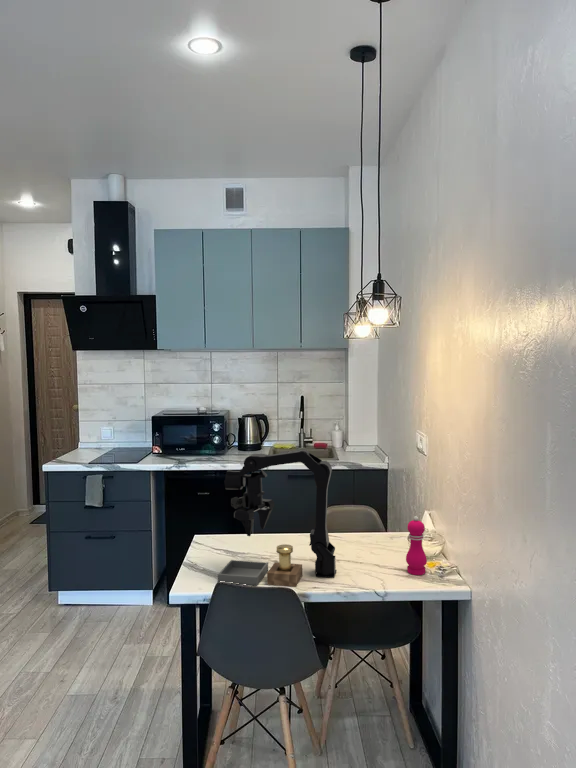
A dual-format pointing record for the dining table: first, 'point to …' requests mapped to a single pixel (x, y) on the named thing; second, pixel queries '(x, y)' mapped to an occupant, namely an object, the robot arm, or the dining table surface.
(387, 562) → the dining table surface
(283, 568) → the brass pin
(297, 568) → the walnut block
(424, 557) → the pepper mill
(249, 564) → the charcoal tray
